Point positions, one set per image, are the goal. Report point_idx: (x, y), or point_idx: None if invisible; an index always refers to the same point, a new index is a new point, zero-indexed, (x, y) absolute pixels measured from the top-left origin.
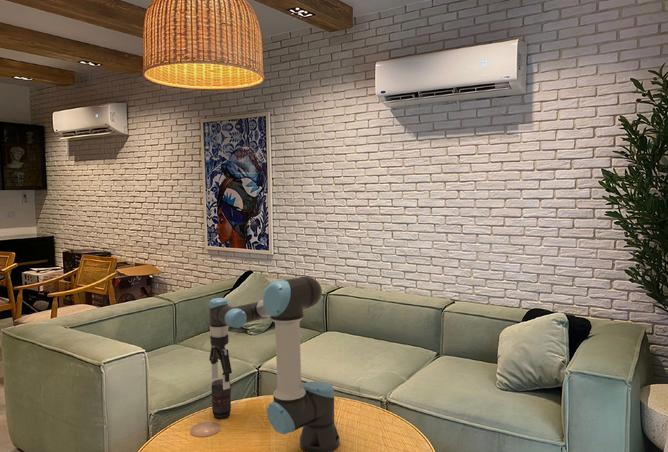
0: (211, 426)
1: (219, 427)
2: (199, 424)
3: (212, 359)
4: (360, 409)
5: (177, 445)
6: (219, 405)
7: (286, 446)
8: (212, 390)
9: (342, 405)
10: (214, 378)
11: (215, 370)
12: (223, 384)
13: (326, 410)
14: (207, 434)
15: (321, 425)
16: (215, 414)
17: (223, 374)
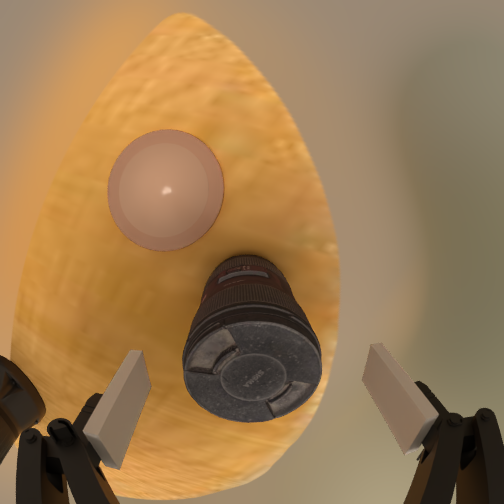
0: (162, 215)
1: (140, 241)
2: (210, 178)
3: (442, 464)
4: (124, 489)
5: (116, 79)
6: (206, 289)
7: (11, 342)
8: (242, 296)
9: (151, 488)
10: (367, 359)
11: (389, 403)
12: (118, 372)
13: None
14: (111, 183)
15: None
16: (228, 260)
17: (54, 425)
